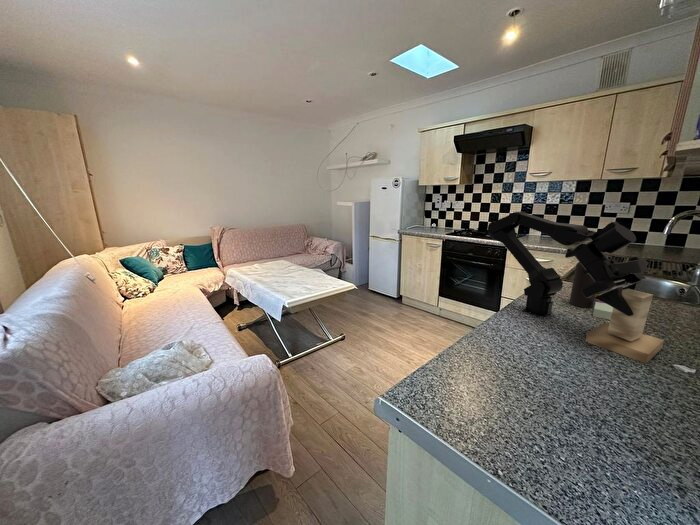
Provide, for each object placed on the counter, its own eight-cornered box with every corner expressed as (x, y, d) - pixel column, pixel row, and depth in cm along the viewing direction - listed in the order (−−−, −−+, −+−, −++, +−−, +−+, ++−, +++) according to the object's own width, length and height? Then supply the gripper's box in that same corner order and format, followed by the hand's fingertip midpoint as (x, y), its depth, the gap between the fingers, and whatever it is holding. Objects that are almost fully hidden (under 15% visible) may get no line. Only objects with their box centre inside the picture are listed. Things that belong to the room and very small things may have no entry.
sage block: (592, 317, 91) (594, 308, 90) (594, 309, 97) (595, 301, 96) (626, 324, 86) (628, 315, 85) (626, 316, 91) (628, 307, 90)
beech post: (607, 332, 75) (617, 291, 72) (617, 328, 76) (627, 288, 73) (631, 341, 70) (642, 297, 67) (641, 337, 72) (653, 294, 69)
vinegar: (574, 307, 98) (584, 252, 93) (565, 300, 104) (575, 248, 99) (597, 309, 96) (609, 253, 91) (587, 301, 102) (598, 249, 97)
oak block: (584, 343, 76) (586, 333, 75) (602, 331, 82) (604, 322, 81) (645, 365, 66) (648, 354, 65) (661, 350, 72) (664, 340, 71)
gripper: (605, 249, 67) (655, 307, 60) (644, 243, 74) (693, 294, 67) (564, 272, 76) (604, 324, 69) (602, 264, 83) (642, 311, 76)
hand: (636, 313), depth 70 cm, fingers closed on beech post, 5 cm apart
